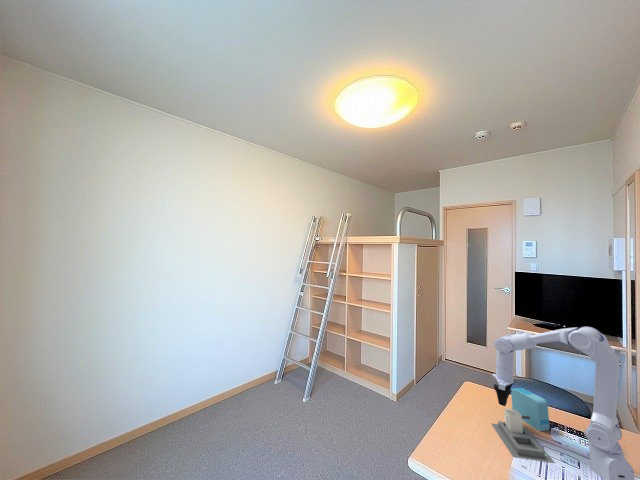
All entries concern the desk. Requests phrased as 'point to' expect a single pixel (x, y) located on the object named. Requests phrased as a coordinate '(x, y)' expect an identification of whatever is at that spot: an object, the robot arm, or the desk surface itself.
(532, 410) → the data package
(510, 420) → the plug
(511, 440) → the jack panel
